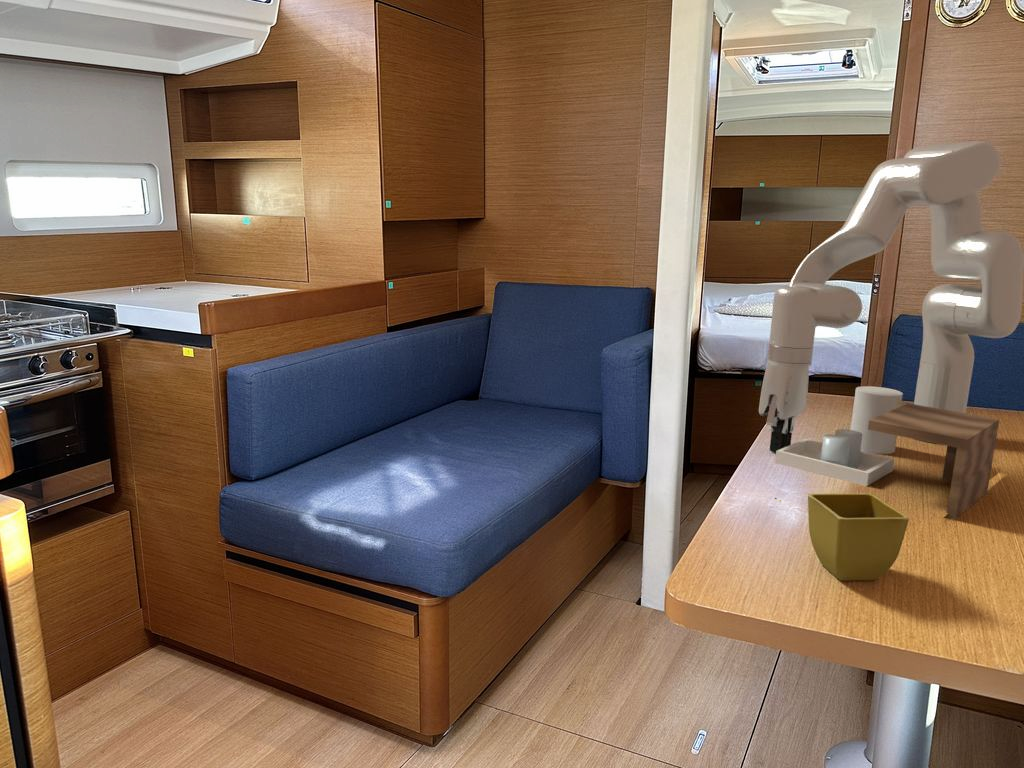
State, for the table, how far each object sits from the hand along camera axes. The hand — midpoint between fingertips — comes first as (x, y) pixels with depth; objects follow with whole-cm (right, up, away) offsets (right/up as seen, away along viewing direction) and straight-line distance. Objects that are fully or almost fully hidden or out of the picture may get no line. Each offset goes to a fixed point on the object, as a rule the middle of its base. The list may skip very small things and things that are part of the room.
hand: (779, 452), depth 143 cm
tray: (+7, -3, -7) cm, 10 cm away
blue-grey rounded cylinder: (+6, -2, -9) cm, 11 cm away
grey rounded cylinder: (+10, -2, -6) cm, 11 cm away
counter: (+18, -5, -17) cm, 25 cm away
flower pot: (-8, -11, -46) cm, 48 cm away
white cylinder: (+20, -1, +6) cm, 21 cm away
